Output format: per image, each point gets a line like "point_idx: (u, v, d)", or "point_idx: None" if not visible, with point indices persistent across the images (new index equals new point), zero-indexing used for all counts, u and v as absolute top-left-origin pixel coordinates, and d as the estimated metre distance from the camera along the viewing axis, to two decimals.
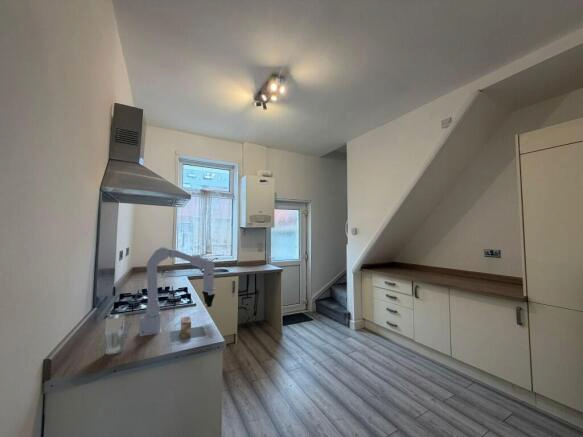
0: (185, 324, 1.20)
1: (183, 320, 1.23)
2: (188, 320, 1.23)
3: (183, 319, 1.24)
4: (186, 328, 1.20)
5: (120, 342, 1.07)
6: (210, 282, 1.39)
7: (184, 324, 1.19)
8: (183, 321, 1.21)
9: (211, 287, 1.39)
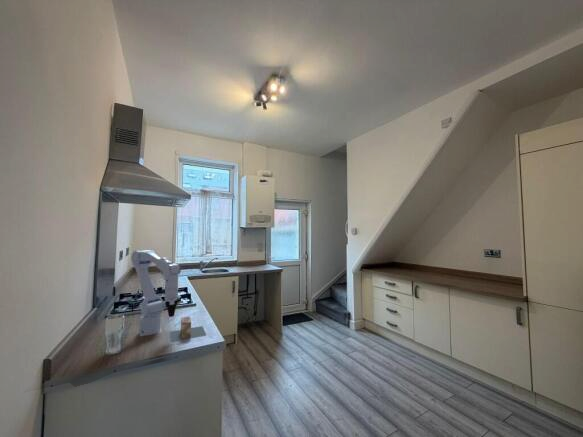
0: (185, 324, 1.20)
1: (183, 320, 1.23)
2: (188, 320, 1.23)
3: (183, 319, 1.24)
4: (186, 328, 1.20)
5: (120, 342, 1.07)
6: (173, 289, 1.19)
7: (184, 324, 1.19)
8: (183, 321, 1.21)
9: (174, 295, 1.20)
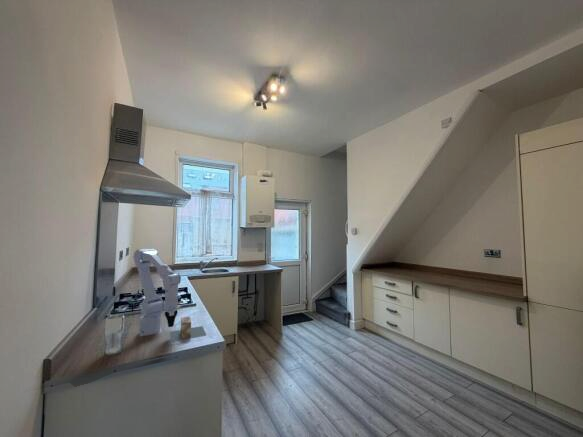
0: (185, 324, 1.20)
1: (183, 320, 1.23)
2: (188, 320, 1.23)
3: (183, 319, 1.24)
4: (186, 328, 1.20)
5: (120, 342, 1.07)
6: (173, 300, 1.19)
7: (184, 324, 1.19)
8: (183, 321, 1.21)
9: (174, 306, 1.20)
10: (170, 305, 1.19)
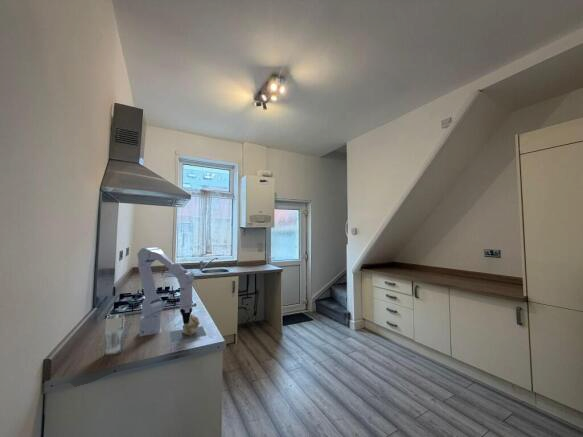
0: (194, 322, 1.22)
1: (193, 317, 1.25)
2: (197, 320, 1.25)
3: (193, 317, 1.27)
4: (192, 326, 1.21)
5: (120, 342, 1.07)
6: (188, 297, 1.22)
7: (193, 321, 1.21)
8: (193, 318, 1.24)
9: (189, 303, 1.23)
10: (185, 302, 1.22)
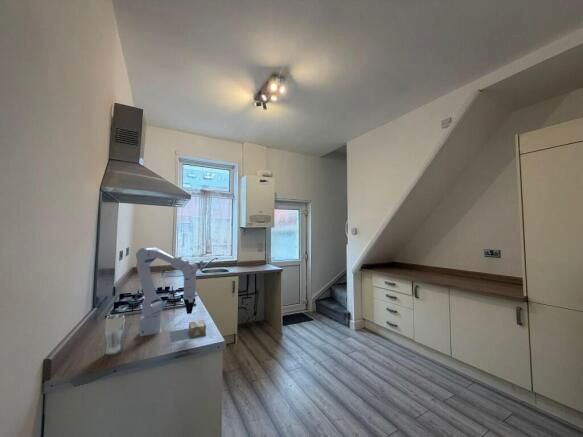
0: (204, 328, 1.23)
1: (204, 324, 1.27)
2: None
3: None
4: (199, 330, 1.23)
5: (120, 342, 1.07)
6: (191, 288, 1.24)
7: (204, 327, 1.24)
8: (205, 325, 1.26)
9: (192, 293, 1.24)
10: (189, 293, 1.23)
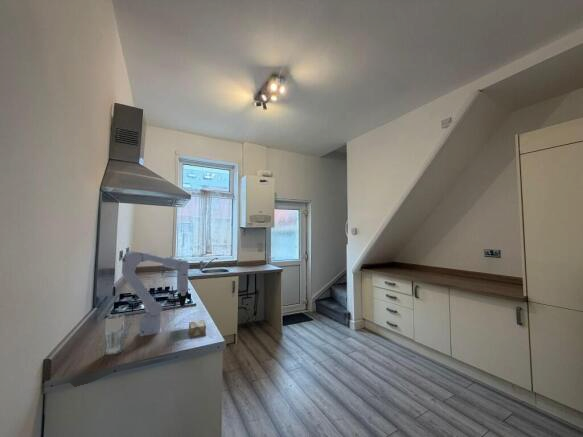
0: (204, 328, 1.23)
1: (204, 324, 1.27)
2: None
3: None
4: (199, 330, 1.23)
5: (120, 342, 1.07)
6: (184, 283, 1.37)
7: (204, 327, 1.24)
8: (205, 325, 1.26)
9: (185, 288, 1.37)
10: (182, 287, 1.36)
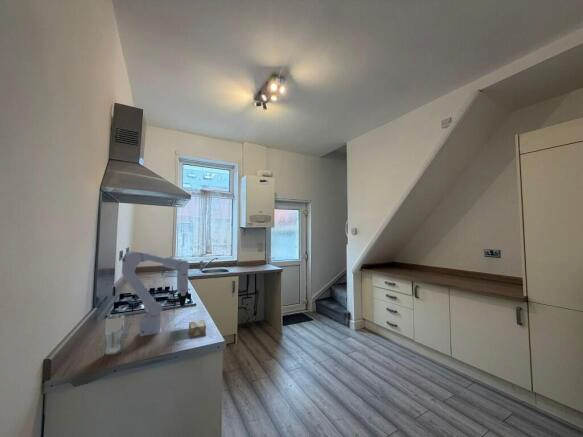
0: (204, 328, 1.23)
1: (204, 324, 1.27)
2: None
3: None
4: (199, 330, 1.23)
5: (120, 342, 1.07)
6: (184, 283, 1.37)
7: (204, 327, 1.24)
8: (205, 325, 1.26)
9: (185, 288, 1.37)
10: (182, 287, 1.36)
